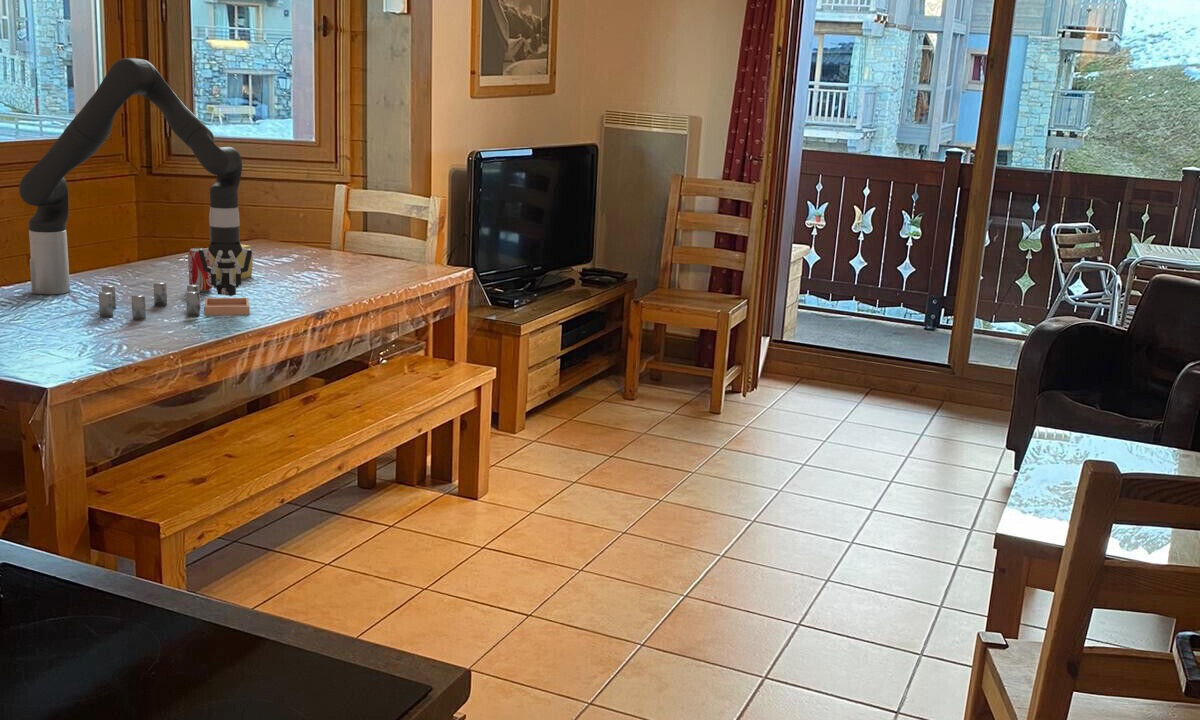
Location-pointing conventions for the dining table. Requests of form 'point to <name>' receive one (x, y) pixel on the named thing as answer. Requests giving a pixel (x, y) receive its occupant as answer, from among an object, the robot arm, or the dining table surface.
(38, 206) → the robot arm
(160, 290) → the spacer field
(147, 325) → the dining table surface
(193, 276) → the beverage can
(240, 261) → the cheese
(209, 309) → the tray
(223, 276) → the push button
